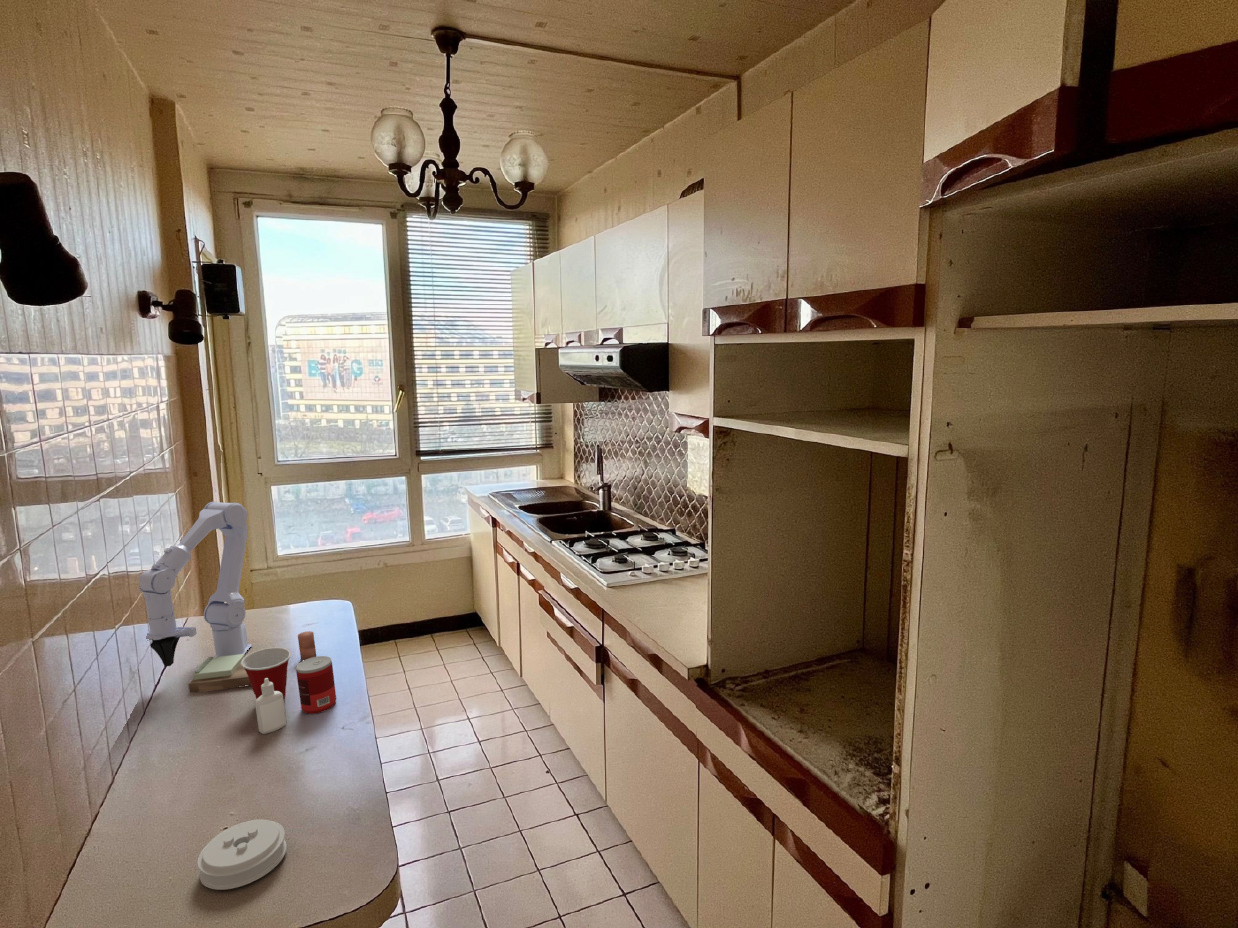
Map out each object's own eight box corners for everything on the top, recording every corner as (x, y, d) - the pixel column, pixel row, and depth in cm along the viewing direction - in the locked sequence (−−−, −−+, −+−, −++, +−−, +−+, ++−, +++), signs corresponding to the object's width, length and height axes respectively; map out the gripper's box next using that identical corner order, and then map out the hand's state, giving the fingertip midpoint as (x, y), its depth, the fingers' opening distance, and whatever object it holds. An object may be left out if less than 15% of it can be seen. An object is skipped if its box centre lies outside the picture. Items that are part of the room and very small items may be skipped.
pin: (303, 655, 194) (299, 632, 193) (318, 653, 195) (315, 630, 194) (299, 661, 191) (295, 637, 189) (314, 659, 191) (311, 636, 190)
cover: (209, 662, 187) (208, 656, 186) (245, 658, 188) (244, 652, 188) (193, 679, 177) (192, 672, 176) (231, 675, 178) (230, 668, 178)
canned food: (342, 697, 169) (337, 655, 167) (325, 714, 161) (320, 670, 159) (313, 697, 170) (307, 655, 168) (294, 714, 162) (288, 670, 160)
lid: (300, 835, 120) (296, 809, 119) (265, 891, 108) (261, 863, 107) (226, 840, 120) (222, 814, 119) (183, 897, 107) (178, 869, 107)
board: (212, 668, 189) (210, 660, 188) (282, 660, 192) (280, 652, 191) (189, 692, 175) (188, 683, 175) (265, 684, 178) (264, 674, 178)
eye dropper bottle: (285, 729, 155) (278, 680, 153) (258, 735, 153) (250, 685, 151) (287, 720, 159) (281, 671, 157) (260, 726, 157) (253, 677, 155)
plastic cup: (260, 718, 161) (253, 670, 159) (239, 705, 167) (232, 659, 165) (305, 698, 169) (299, 652, 167) (283, 687, 176) (277, 643, 174)
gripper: (121, 623, 173) (130, 674, 175) (184, 617, 175) (192, 667, 177) (136, 613, 180) (144, 662, 182) (196, 607, 182) (204, 656, 184)
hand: (169, 664), depth 180 cm, fingers closed
